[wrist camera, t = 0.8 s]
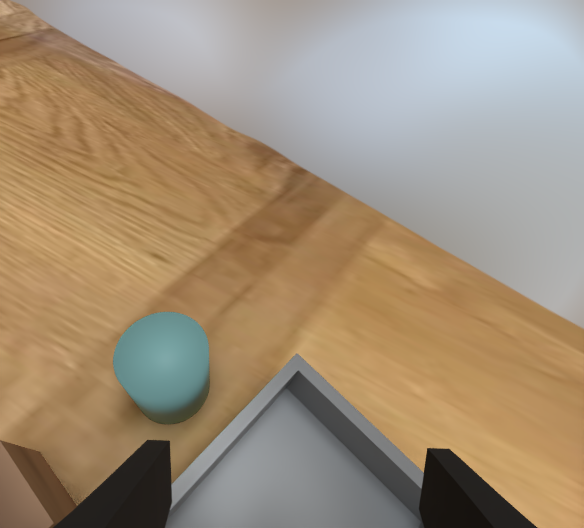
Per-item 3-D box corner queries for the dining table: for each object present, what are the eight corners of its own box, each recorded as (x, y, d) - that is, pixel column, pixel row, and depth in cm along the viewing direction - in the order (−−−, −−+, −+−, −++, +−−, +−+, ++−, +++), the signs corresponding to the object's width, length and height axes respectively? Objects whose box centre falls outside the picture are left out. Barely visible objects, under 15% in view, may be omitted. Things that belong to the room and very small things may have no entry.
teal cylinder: (166, 441, 22) (151, 421, 17) (121, 387, 24) (93, 351, 18) (223, 386, 25) (227, 352, 20) (180, 340, 26) (171, 296, 21)
